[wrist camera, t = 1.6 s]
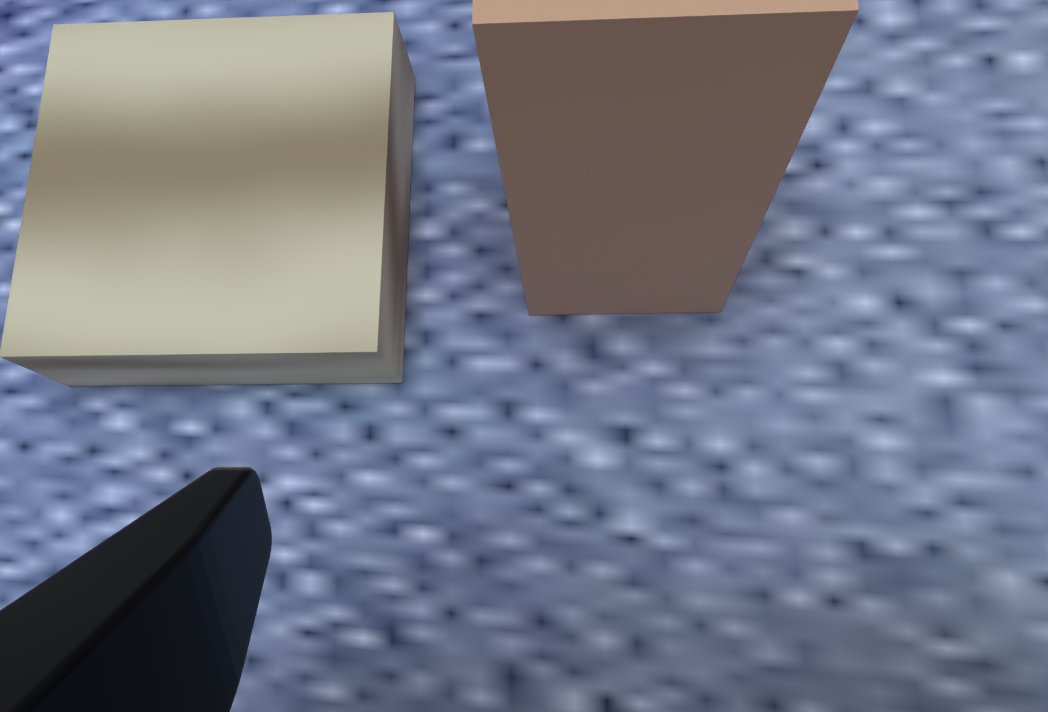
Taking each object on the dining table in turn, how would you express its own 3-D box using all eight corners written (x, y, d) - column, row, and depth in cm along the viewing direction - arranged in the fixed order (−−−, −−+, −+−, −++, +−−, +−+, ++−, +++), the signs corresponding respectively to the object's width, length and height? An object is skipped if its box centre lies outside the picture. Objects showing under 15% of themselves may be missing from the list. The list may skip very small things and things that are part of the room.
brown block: (720, 312, 24) (858, 9, 12) (528, 315, 24) (472, 24, 12) (710, 139, 25) (826, -292, 13) (529, 144, 25) (479, -272, 13)
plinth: (402, 382, 24) (377, 351, 21) (68, 386, 24) (-1, 356, 21) (415, 77, 26) (393, 11, 23) (111, 87, 27) (54, 24, 24)
